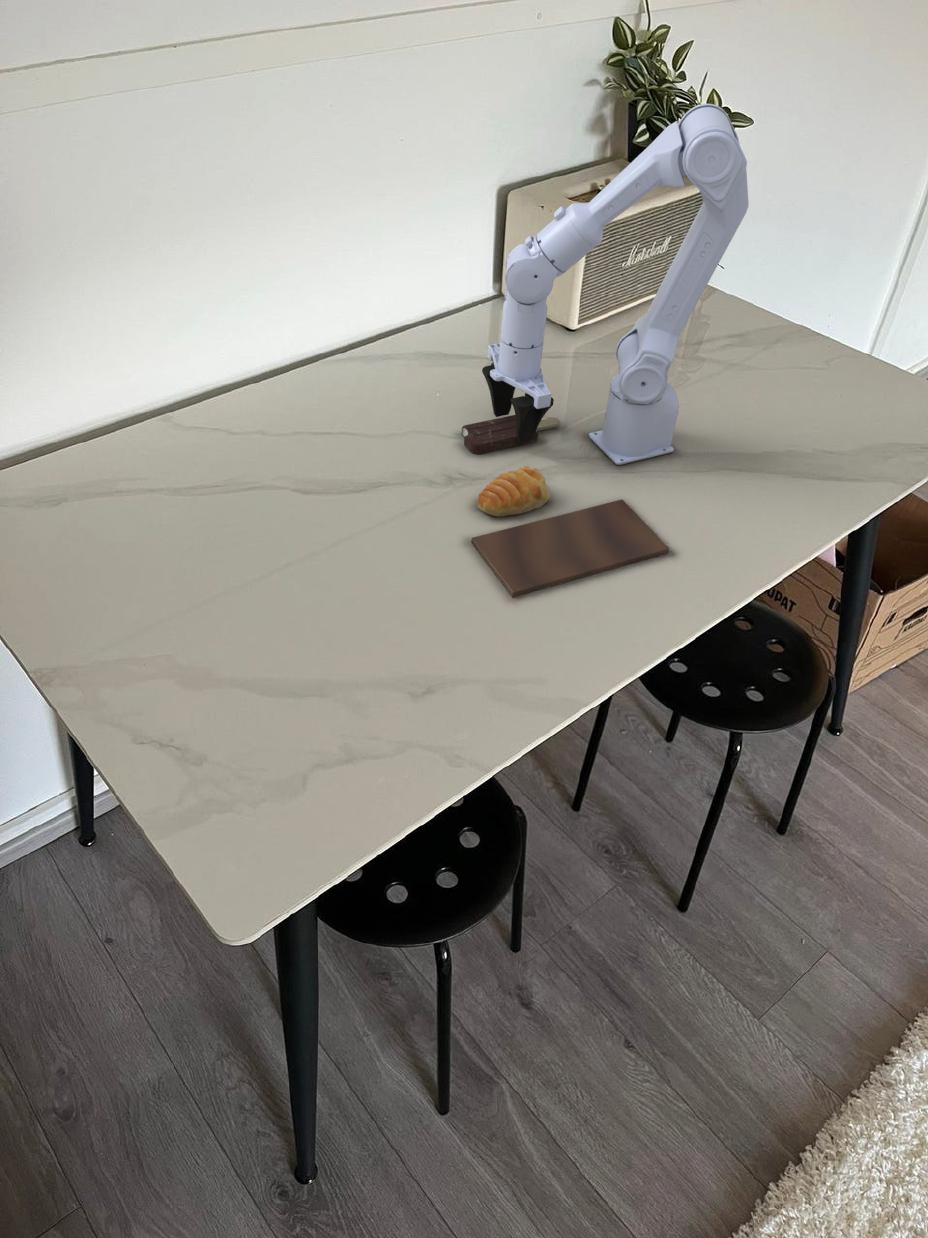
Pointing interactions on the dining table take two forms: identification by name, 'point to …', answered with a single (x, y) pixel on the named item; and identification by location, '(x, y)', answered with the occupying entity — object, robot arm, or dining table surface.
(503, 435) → the ice cream bar
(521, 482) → the pastry
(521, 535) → the walnut board
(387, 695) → the dining table surface
